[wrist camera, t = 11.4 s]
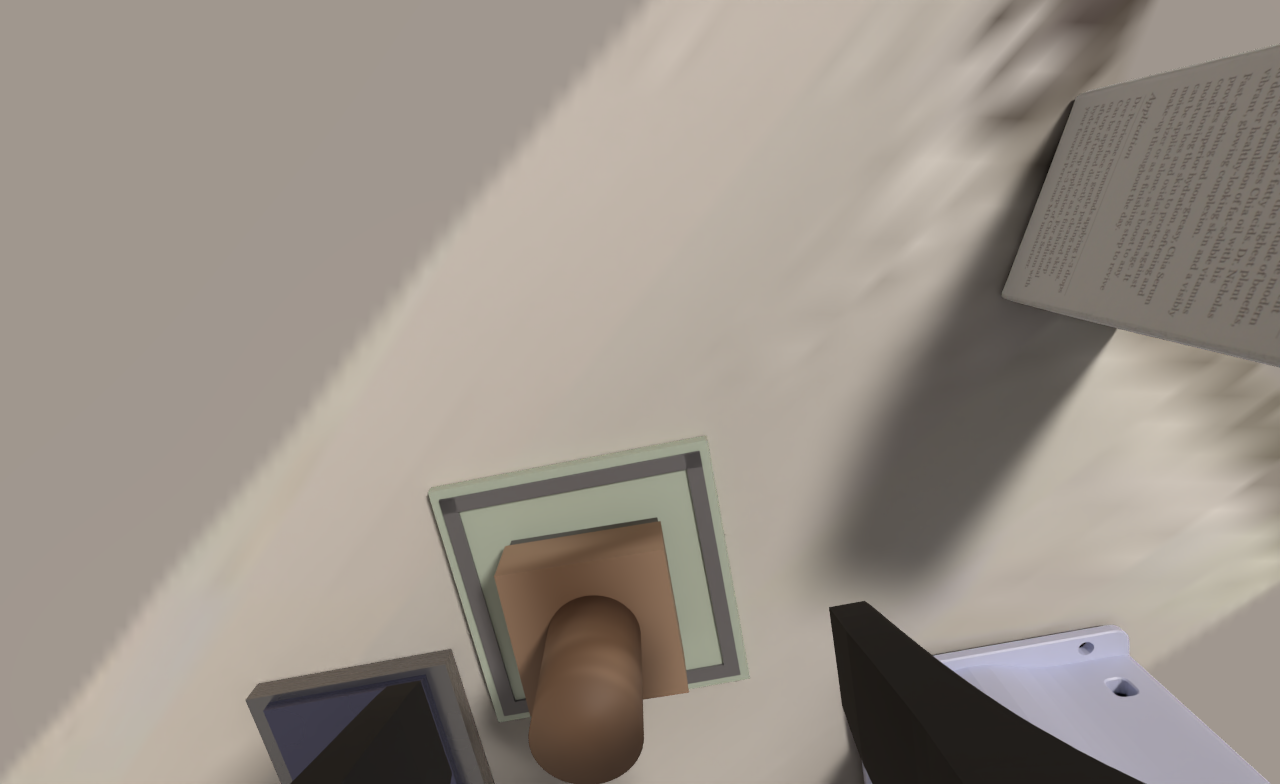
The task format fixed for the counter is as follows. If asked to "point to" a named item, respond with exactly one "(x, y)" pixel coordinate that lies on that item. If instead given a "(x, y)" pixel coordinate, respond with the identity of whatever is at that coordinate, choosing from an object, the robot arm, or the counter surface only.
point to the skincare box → (1166, 209)
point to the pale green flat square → (587, 498)
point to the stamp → (591, 642)
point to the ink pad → (328, 701)
